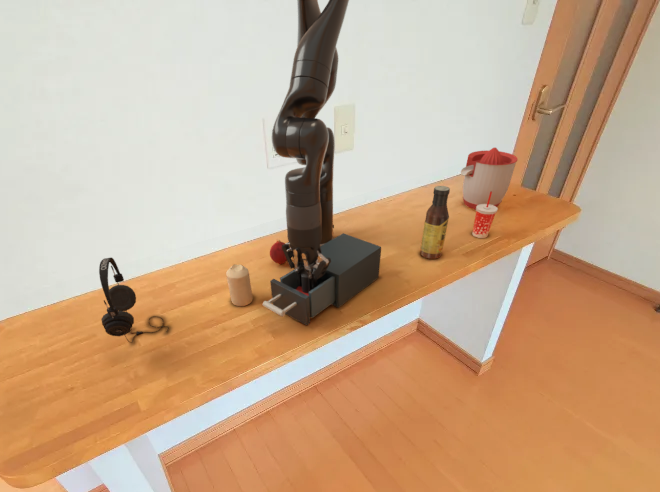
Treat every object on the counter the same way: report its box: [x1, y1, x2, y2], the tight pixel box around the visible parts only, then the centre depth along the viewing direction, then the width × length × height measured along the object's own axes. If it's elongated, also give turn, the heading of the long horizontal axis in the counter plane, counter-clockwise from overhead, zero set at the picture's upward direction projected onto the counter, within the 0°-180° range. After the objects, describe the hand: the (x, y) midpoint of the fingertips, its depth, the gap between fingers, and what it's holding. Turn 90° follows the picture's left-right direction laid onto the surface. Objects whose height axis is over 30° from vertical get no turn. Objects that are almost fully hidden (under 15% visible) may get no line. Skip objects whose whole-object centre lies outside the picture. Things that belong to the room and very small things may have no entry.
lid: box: [296, 272, 309, 296], centre depth 92 cm, size 6×6×5 cm
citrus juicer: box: [460, 147, 519, 211], centre depth 134 cm, size 16×17×20 cm
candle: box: [225, 263, 254, 307], centre depth 96 cm, size 6×6×10 cm
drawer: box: [262, 268, 336, 327], centre depth 92 cm, size 22×11×8 cm, turn 138°
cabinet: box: [320, 232, 382, 308], centre depth 100 cm, size 18×13×10 cm
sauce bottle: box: [420, 185, 451, 260], centre depth 107 cm, size 7×6×20 cm
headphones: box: [98, 256, 170, 344], centre depth 83 cm, size 15×11×20 cm
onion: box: [269, 238, 287, 265], centre depth 110 cm, size 6×6×8 cm
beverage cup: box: [471, 191, 499, 239], centre depth 118 cm, size 6×6×14 cm
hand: (307, 286), depth 92 cm, fingers closed on lid, 2 cm apart
